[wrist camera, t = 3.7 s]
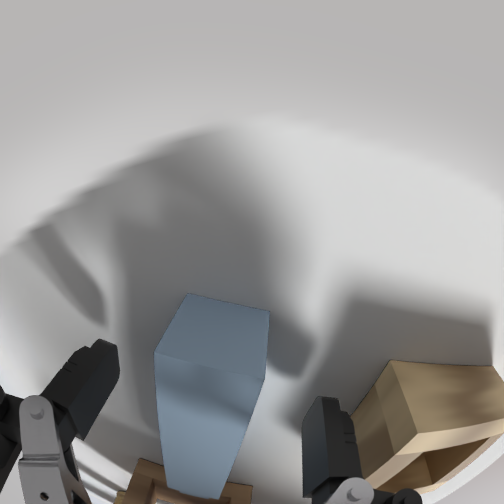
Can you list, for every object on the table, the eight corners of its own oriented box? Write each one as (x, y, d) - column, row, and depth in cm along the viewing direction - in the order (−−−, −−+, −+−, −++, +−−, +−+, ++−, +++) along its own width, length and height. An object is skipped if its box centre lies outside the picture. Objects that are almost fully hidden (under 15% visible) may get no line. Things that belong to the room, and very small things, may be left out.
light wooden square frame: (492, 366, 10) (522, 412, 7) (421, 447, 13) (434, 490, 9) (389, 360, 10) (417, 433, 7) (321, 451, 13) (324, 506, 10)
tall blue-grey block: (189, 290, 10) (153, 351, 7) (270, 308, 10) (264, 378, 7) (181, 460, 16) (169, 498, 12) (221, 470, 16) (214, 509, 12)
